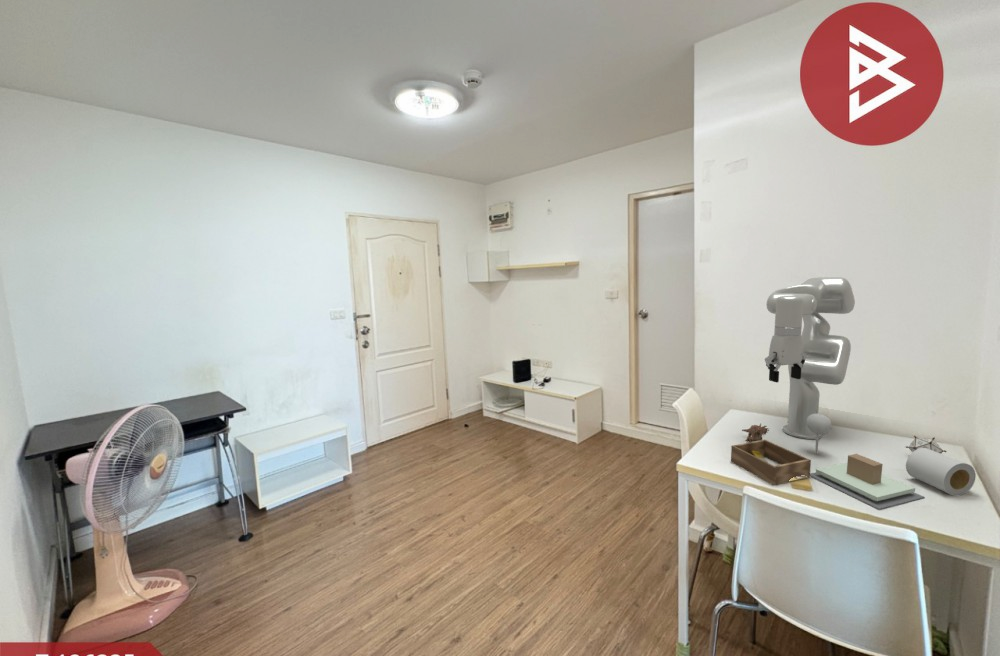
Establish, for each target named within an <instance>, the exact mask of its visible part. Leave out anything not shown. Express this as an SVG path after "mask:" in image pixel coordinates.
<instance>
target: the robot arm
mask: <svg viewBox="0 0 1000 656" xmlns="http://www.w3.org/2000/svg"><path fill="white" fill-rule="evenodd" d="M855 303H856V301H855V296H854V291H853V289H852V285H851V283H850V282H849V280H848V279H847V278H845V277H842V276H835V277H834V276H832V277H831V276H830V277H826V276H825V277H822V276H820V277H811V278H807V280H805V281H804V282H803V283H801V284H799V285H797V284H796V285H794V286H789V287H783V288H780V289H779V288H778V289H777V290H775V291H773V292H772V293H771V294H770V295H769V296H768V298H767V299H766V310H768V312H769V313H770V314H775V315H774V332H773V333H774V334H773V335H772V337H771V340H770V343H769V349H768V350H769V351H768V356H766V357H765V358H764V362H765V366H766V367H767V370H769V372H768V380H769V381H770V382H774V383H779V379H780V370H779V369H780V367H782V366H788V368H787V369H788V375H789V393H788V394H789V395H788V410H787V411H788V413H787V424H785V425H784V426H782V431H783V433H785V434H787V435H789V436H791V437H795V438H798V439H804V440H816V435H817V433H814V432H812V431H811V430H809V429H808V427H807V425H806V420H807V418H808V416H810V415H812V414H819V407H820V391H819V388H818V387H817V386H816V384H815V383H819V384H826V385H836V386H837V385H841V384H843V382H844V381H845V377H846V373H847V369H848V365H849V360H850V357H851V356H850V355H851V349H852V348H851V347H852V346H851V341H850V339H849V338H848V337H846V336H842V335H836V334H830V331H831V324H830V323H829V322H828V321H827V319H825V317H823V316H822V315H821V314H838V315H840V314H841V315H845V314H850V313H851V312H852V311H853V310H854V308H855ZM802 325H803V327H802ZM822 435H823V434H819V439H820V438H822V437H823V436H822Z"/></svg>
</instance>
